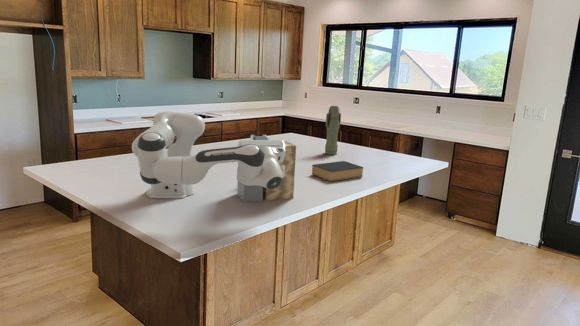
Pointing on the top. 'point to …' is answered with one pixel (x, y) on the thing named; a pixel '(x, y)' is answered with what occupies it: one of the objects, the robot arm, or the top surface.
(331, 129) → the olive piece
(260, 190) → the grey rectangular block
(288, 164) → the carton
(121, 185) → the top surface
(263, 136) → the light blue bar
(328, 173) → the book
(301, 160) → the top surface
